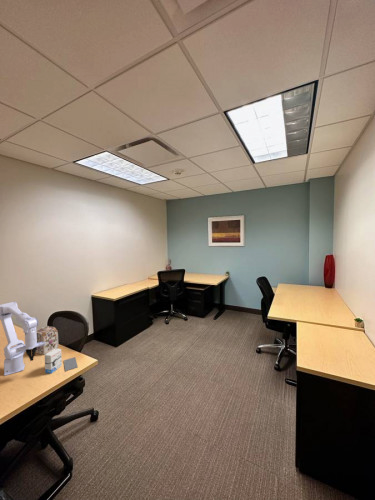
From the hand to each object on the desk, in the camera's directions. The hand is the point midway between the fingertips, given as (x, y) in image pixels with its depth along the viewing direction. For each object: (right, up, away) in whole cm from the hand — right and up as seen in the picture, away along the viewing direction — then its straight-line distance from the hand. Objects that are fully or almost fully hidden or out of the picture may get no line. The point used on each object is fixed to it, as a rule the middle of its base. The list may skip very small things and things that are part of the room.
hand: (31, 359), depth 124 cm
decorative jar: (-13, -9, +31) cm, 34 cm away
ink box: (+9, -10, +7) cm, 15 cm away
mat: (+17, -10, +12) cm, 23 cm away
